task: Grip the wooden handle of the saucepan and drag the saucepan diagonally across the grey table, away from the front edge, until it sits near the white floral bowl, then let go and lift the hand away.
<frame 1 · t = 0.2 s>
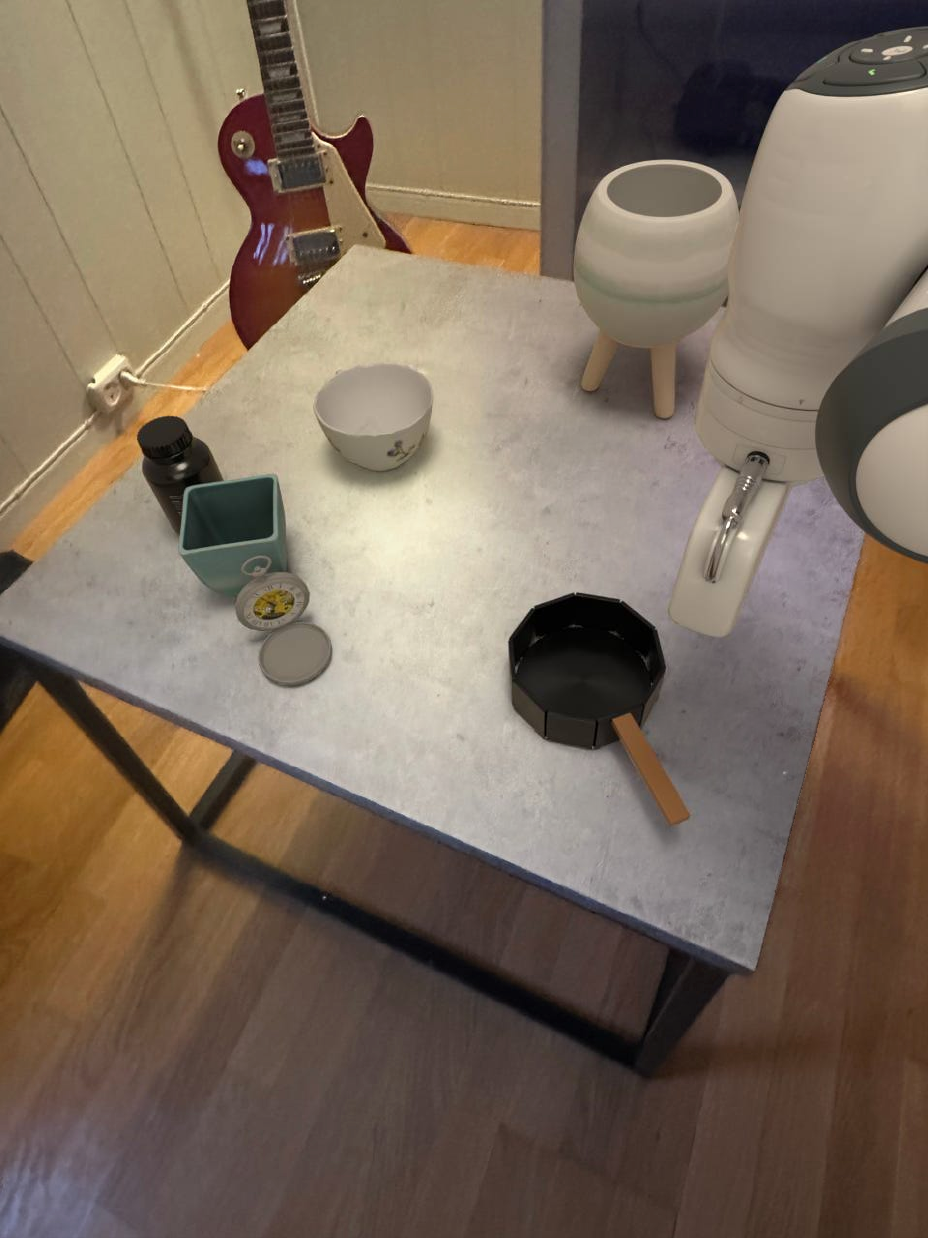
hand: (729, 569, 52), 16 cm above the table, tool pointing down, fingers open, 8 cm apart
saucepan: (582, 683, 65), on the table
planter: (637, 390, 89), on the table
flower pot: (258, 576, 76), on the table
pocket watch: (295, 648, 70), on the table
white floral bowl: (379, 449, 86), on the table
supplement bottle: (206, 521, 81), on the table
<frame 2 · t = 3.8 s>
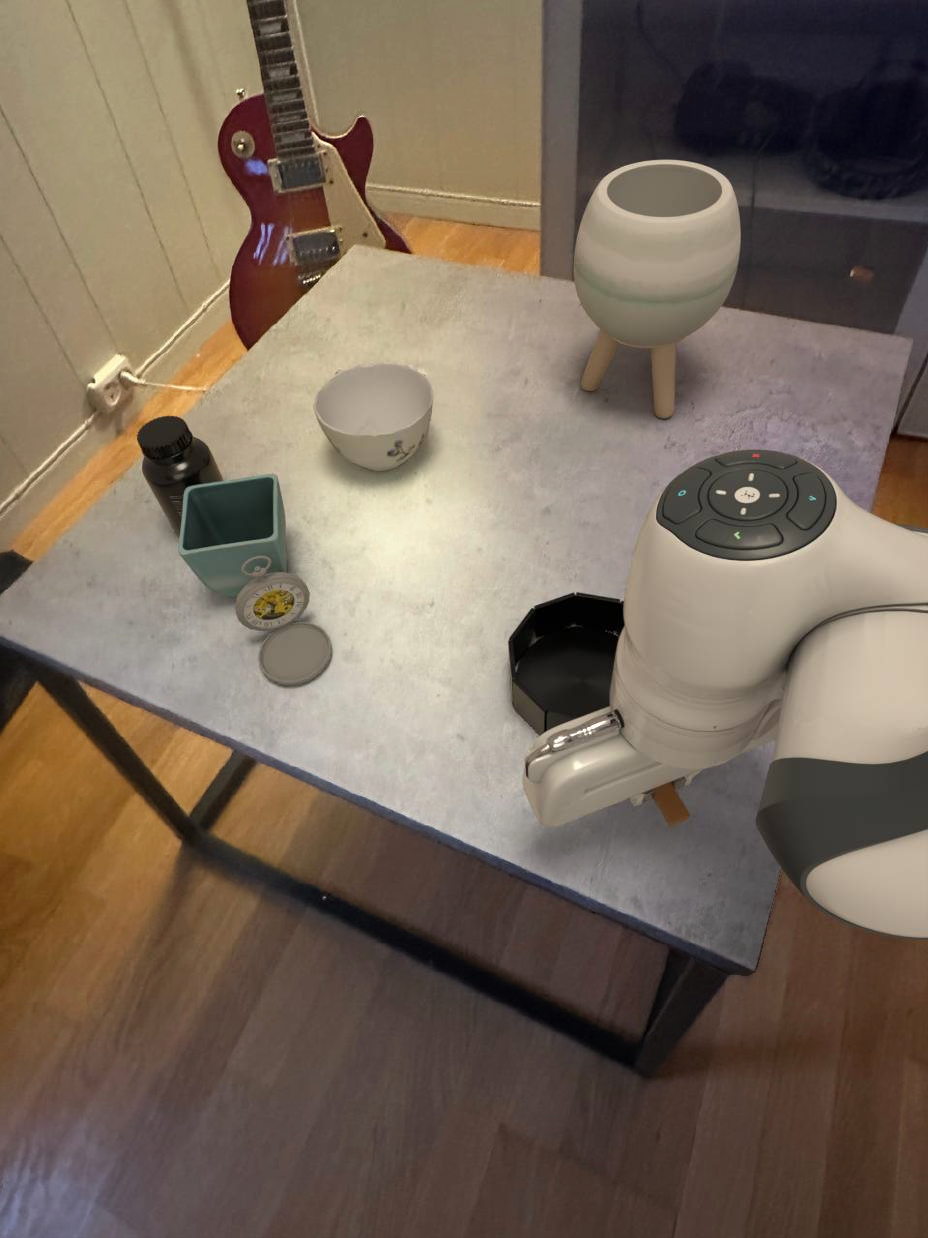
hand: (656, 786, 56), 3 cm above the table, tool pointing down, fingers closed on saucepan
saucepan: (582, 683, 65), on the table, touching gripper
everything else where it was.
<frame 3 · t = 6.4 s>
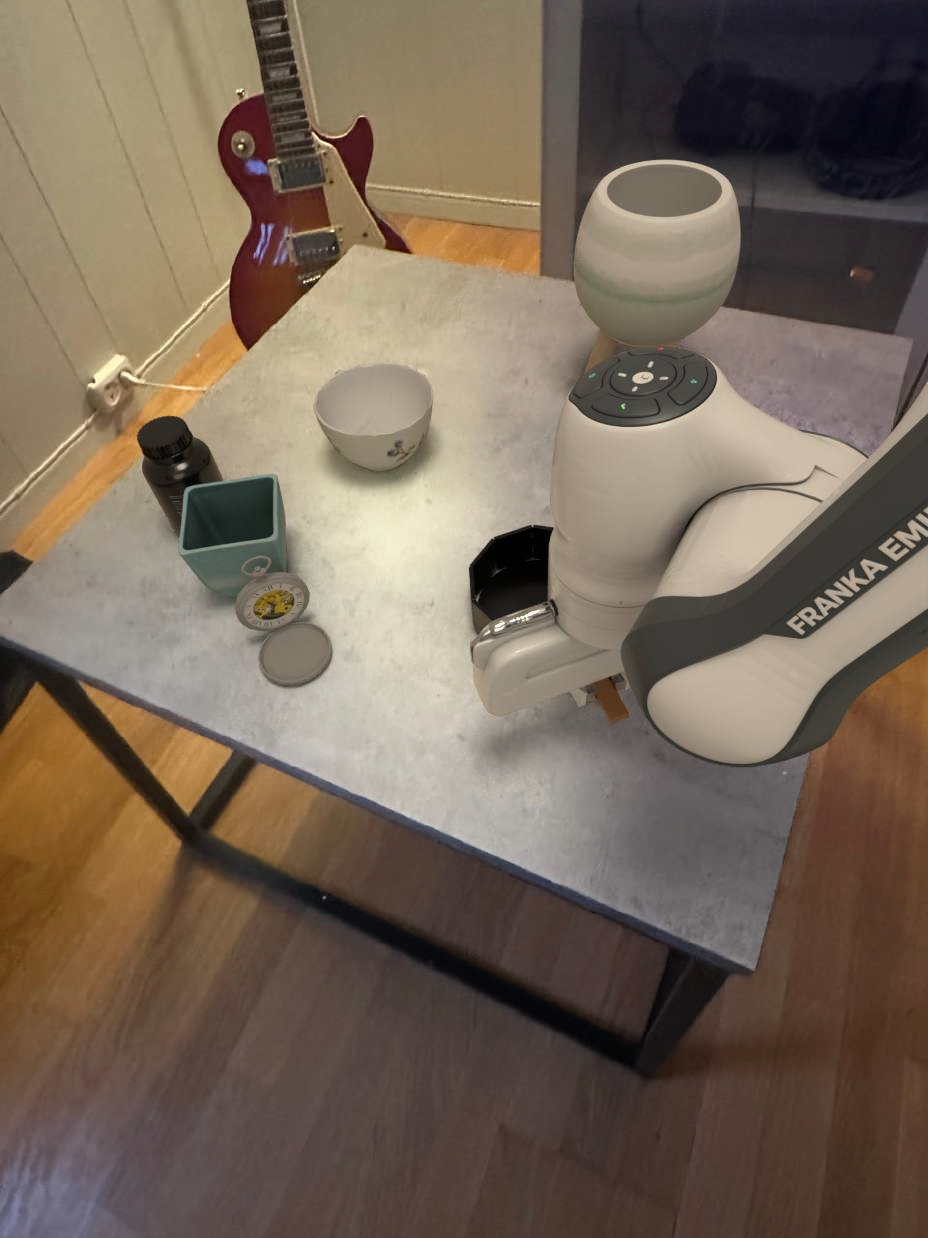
hand: (600, 690, 61), 3 cm above the table, tool pointing down, fingers closed on saucepan
saucepan: (539, 608, 70), on the table, touching gripper
everything else where it was.
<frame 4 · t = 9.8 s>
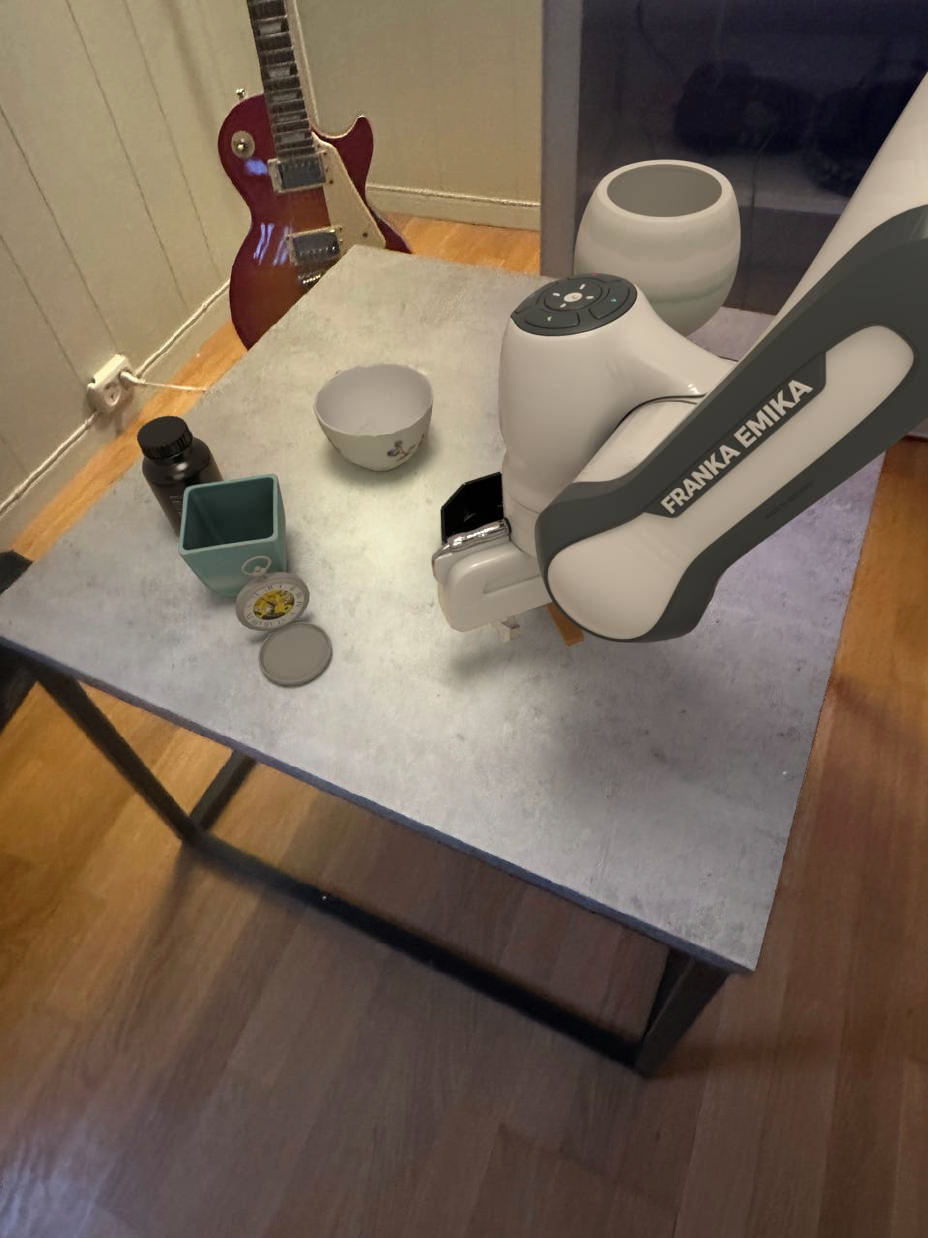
hand: (559, 616, 66), 3 cm above the table, tool pointing down, fingers open, 8 cm apart
saucepan: (507, 550, 75), on the table
everything else where it was.
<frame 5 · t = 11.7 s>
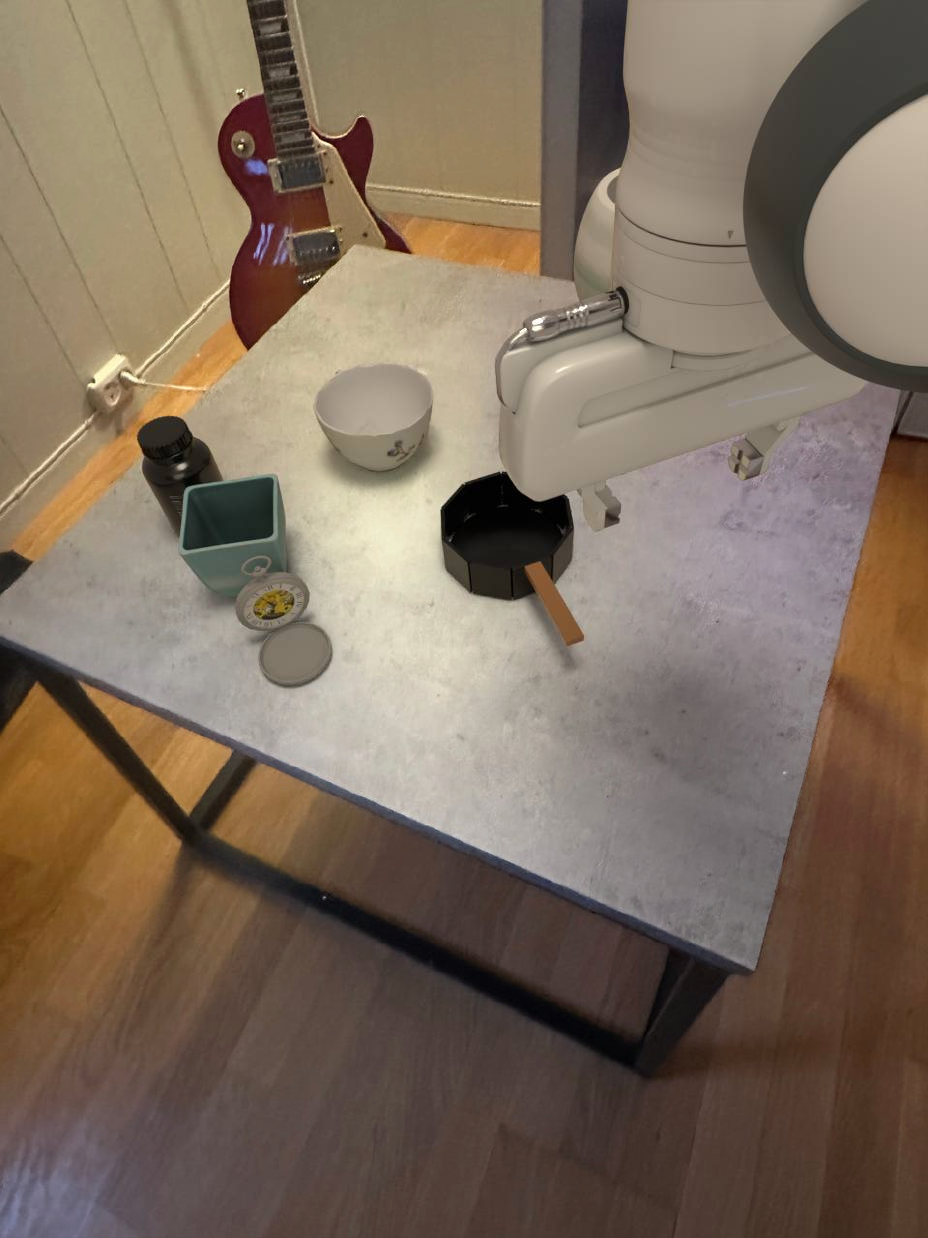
hand: (674, 495, 44), 25 cm above the table, tool pointing down, fingers open, 8 cm apart
nothing on the table moved.
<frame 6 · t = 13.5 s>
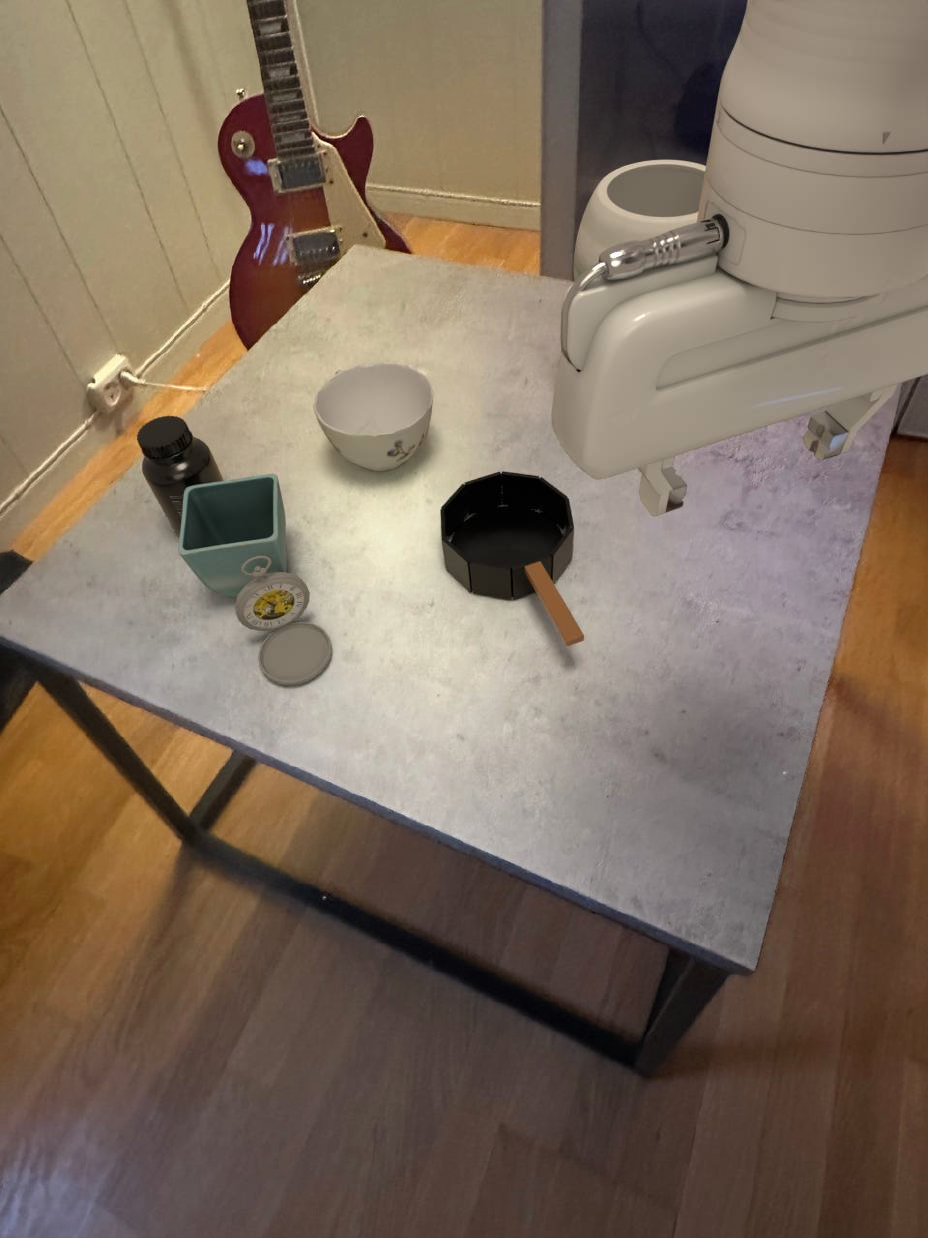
hand: (743, 476, 38), 29 cm above the table, tool pointing down, fingers open, 8 cm apart
nothing on the table moved.
at the end: saucepan moved 16.9 cm from its start; saucepan 21.4 cm from the white floral bowl (horizontally); saucepan tilted 0° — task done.
